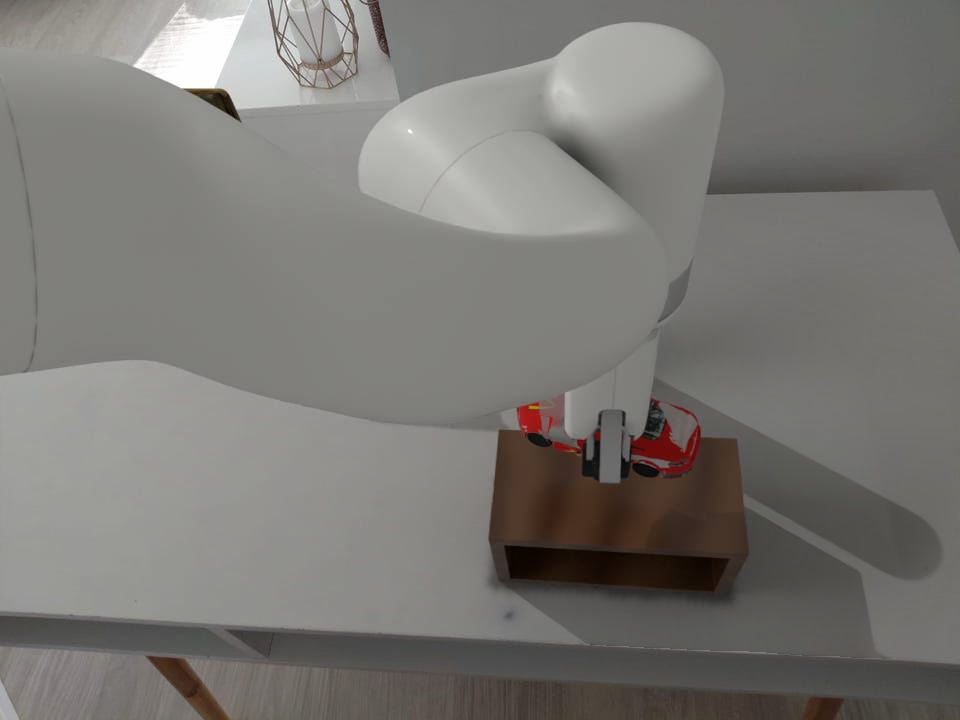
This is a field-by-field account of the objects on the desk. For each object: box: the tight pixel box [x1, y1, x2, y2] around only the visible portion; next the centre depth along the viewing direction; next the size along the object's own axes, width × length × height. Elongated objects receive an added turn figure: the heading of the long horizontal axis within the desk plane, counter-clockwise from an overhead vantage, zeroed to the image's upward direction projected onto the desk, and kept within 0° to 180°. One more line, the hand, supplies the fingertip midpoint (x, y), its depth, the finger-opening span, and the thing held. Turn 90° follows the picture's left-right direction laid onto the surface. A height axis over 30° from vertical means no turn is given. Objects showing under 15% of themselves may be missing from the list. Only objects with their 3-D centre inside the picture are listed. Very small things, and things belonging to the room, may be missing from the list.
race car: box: [515, 393, 702, 479], centre depth 54 cm, size 13×5×4 cm, turn 68°
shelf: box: [487, 428, 750, 597], centre depth 66 cm, size 20×10×10 cm, turn 84°
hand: (604, 429), depth 55 cm, fingers closed on race car, 6 cm apart
